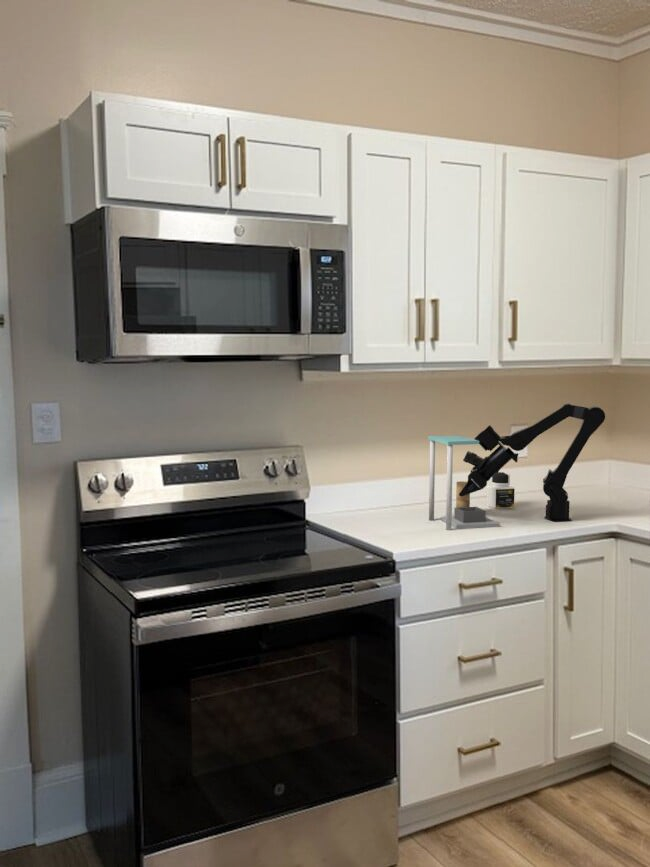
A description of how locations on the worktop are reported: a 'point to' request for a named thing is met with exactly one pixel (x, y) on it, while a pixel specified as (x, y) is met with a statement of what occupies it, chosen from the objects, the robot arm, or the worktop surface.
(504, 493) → the medicine bottle
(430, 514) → the awning socket
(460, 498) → the tan domed cylinder
